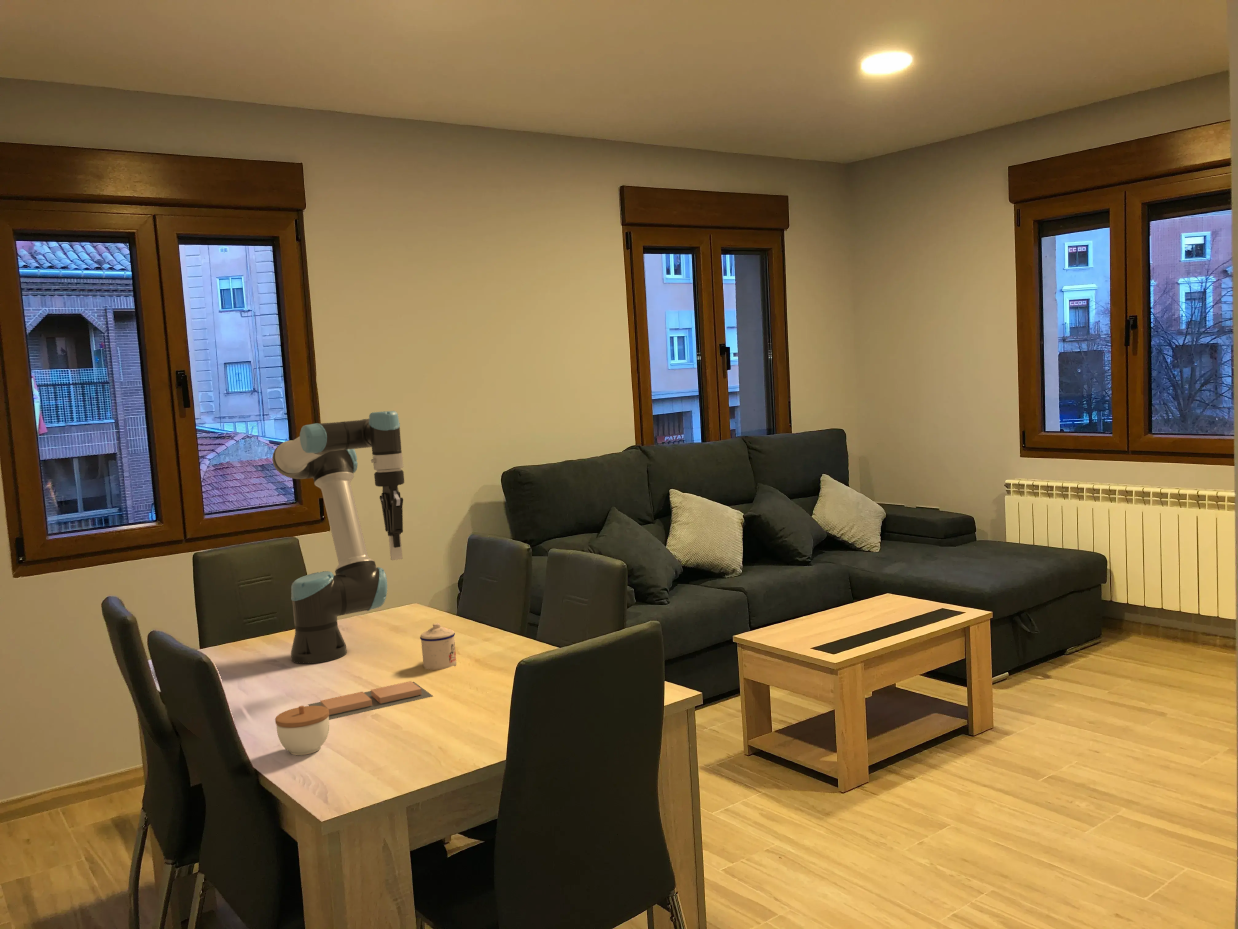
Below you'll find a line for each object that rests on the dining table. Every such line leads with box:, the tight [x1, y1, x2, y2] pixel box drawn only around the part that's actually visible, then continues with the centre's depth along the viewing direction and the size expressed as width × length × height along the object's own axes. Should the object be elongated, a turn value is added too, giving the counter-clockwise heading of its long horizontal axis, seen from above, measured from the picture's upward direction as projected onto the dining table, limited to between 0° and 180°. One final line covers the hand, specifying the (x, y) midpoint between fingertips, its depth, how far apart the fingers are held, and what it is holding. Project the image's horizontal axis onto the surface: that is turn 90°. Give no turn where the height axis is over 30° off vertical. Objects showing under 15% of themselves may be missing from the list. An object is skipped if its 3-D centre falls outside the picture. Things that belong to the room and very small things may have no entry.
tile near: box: [319, 691, 372, 715], centre depth 234 cm, size 2×10×8 cm
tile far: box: [370, 680, 422, 704], centre depth 240 cm, size 2×10×8 cm
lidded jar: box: [274, 705, 330, 756], centre depth 208 cm, size 11×11×9 cm
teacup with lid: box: [419, 622, 457, 671], centre depth 265 cm, size 12×9×12 cm
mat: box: [307, 681, 434, 721], centre depth 238 cm, size 15×26×1 cm, turn 120°
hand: (396, 559), depth 263 cm, fingers closed
